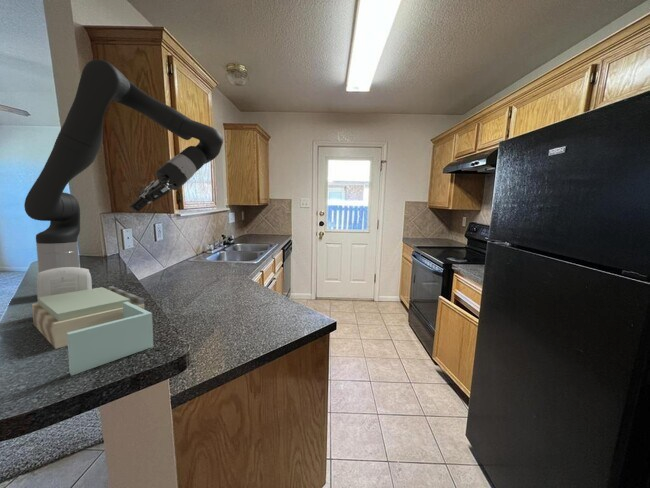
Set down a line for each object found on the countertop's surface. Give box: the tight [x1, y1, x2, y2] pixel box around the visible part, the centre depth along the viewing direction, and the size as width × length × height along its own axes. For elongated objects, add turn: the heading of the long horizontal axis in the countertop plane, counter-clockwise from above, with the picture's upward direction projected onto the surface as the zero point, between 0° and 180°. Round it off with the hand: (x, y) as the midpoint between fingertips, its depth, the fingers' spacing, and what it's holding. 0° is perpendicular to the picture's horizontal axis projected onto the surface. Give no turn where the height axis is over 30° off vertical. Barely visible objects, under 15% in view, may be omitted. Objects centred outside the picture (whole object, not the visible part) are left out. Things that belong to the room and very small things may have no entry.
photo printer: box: [36, 267, 93, 298], centre depth 68 cm, size 10×4×12 cm, turn 123°
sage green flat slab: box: [36, 286, 130, 321], centre depth 61 cm, size 18×12×2 cm, turn 56°
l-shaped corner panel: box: [67, 302, 154, 376], centre depth 50 cm, size 12×12×8 cm
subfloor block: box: [31, 285, 146, 350], centre depth 62 cm, size 20×15×6 cm
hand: (133, 209), depth 73 cm, fingers closed
